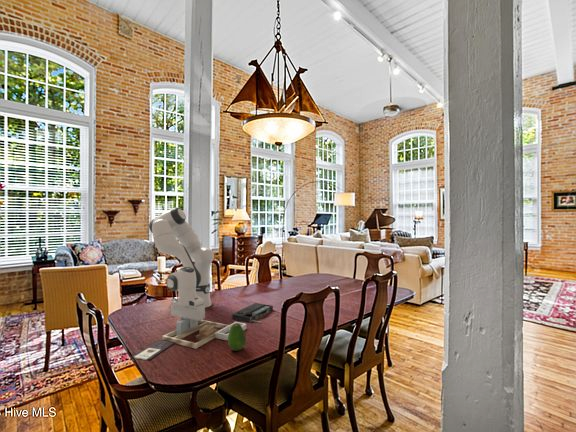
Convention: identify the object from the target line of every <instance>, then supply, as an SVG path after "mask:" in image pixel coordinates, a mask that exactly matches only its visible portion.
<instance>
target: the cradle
mask: <svg viewBox="0 0 576 432" xmlns="http://www.w3.org/2000/svg"><path fill="white" fill-rule="evenodd" d="M235 323H238V324H240V325H241V327H242V329H243V331H245V330H247V327H248V326H247V323H243V322H238V321H233V323H231V324H228V325H229V326H227V327H225V328H220V329H219V330H217V331H218V332H216V333H215V338H214V339H218V340H219V339H220V340H224V341H228V336H229V332H230V329H231V326H232V325H233V324H235Z"/></svg>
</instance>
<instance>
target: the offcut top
mask: <svg viewBox="0 0 576 432" xmlns="http://www.w3.org/2000/svg"><path fill="white" fill-rule="evenodd" d="M215 328H216V327H215V325H205V326H204V327H202V328H201V329H200V330H198V331H199V333H198V334H199V335H206V336H208V335H210V334H211V333H212V332H213V331H214V330H216V329H215Z"/></svg>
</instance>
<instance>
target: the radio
mask: <svg viewBox="0 0 576 432" xmlns="http://www.w3.org/2000/svg"><path fill="white" fill-rule="evenodd" d="M272 311H274V305H270V304H265V303H258V302H255V303H252V304H250V305H248V306H246V307H244V308H242V309H239V310H237V311H235V312H233V313H231V319H232V320H237V321H241V322H246V323H252V322H255V323H256V322H257V323H262V324H263V321H258V319H263V318H264V317H267V316H268V314H269V313H270V312H272Z"/></svg>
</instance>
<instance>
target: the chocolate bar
mask: <svg viewBox="0 0 576 432" xmlns="http://www.w3.org/2000/svg"><path fill="white" fill-rule="evenodd" d="M174 345H175V342H172V341H166V340H162V339H158V340H156V341H155V342H152V343H151V344H150V345H148V346H146V347H144V348H143V349H142V350H140V351H138V352H136V353H135V354H133V355H132V356H131V359H137V360H143V361H151V360H153V359H154V358H155V357H158V356H159V355H160V354H161V353H163V352H164V351H167V350H168V349H169V348H171V346H174Z"/></svg>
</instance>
